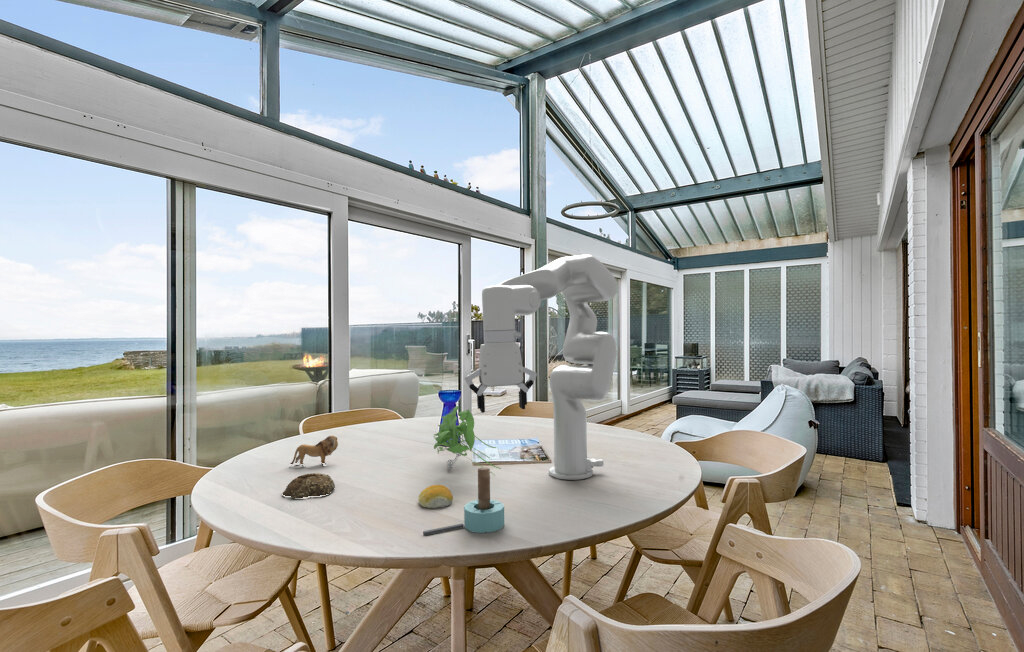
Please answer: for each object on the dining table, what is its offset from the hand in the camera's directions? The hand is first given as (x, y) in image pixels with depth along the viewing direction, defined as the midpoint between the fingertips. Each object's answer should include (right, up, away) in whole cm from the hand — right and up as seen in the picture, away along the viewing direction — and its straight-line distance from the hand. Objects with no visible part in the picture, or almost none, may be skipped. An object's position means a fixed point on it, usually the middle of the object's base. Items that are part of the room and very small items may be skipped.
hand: (502, 409), depth 116 cm
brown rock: (-51, -24, +13) cm, 59 cm away
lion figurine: (-60, -25, +40) cm, 76 cm away
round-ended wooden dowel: (-4, -23, -10) cm, 26 cm away
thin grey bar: (-12, -23, -13) cm, 29 cm away
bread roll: (-16, -24, +4) cm, 29 cm away
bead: (-4, -23, -10) cm, 26 cm away
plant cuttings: (-12, -24, +33) cm, 42 cm away
